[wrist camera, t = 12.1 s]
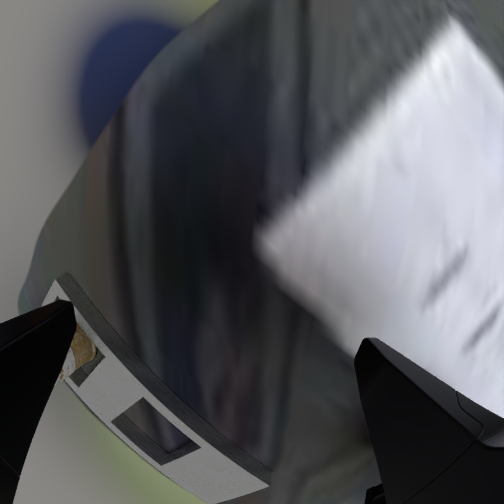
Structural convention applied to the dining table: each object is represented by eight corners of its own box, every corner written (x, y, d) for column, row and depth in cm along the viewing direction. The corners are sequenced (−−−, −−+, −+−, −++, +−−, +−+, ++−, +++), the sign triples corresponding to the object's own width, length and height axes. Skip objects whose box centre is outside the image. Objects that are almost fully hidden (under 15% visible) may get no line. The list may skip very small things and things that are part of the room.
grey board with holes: (272, 471, 22) (269, 485, 20) (214, 492, 24) (210, 504, 22) (70, 274, 22) (55, 279, 20) (42, 325, 24) (29, 331, 22)
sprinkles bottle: (88, 367, 24) (-6, 439, 11) (59, 332, 24) (-41, 388, 11) (106, 343, 23) (-4, 422, 10) (74, 305, 23) (-43, 361, 10)
